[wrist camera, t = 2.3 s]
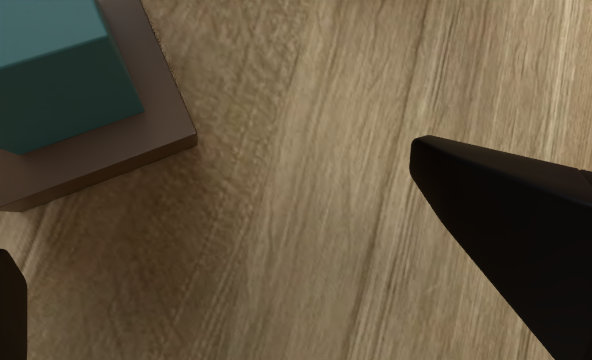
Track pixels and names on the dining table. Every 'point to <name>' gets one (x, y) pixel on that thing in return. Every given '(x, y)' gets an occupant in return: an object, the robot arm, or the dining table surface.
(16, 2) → the teal toy block
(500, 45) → the dining table surface
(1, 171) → the walnut base block
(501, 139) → the dining table surface
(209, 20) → the dining table surface
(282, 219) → the dining table surface
